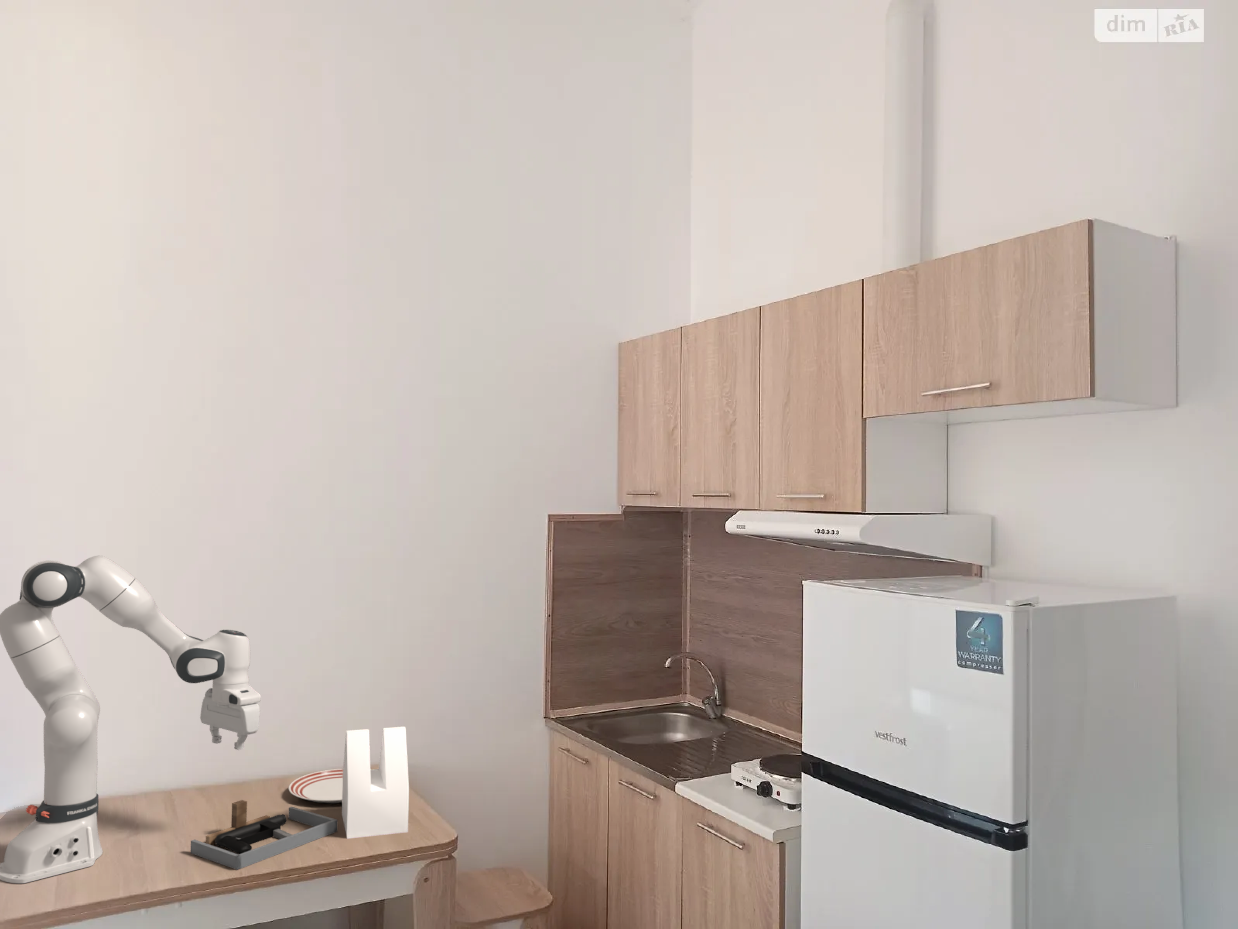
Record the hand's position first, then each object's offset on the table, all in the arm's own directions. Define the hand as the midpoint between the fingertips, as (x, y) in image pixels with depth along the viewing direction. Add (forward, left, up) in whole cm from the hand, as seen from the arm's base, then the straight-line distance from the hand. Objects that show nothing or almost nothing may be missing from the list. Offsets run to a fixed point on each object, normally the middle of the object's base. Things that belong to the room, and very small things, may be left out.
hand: (227, 746), depth 247 cm
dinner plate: (+38, 0, -22) cm, 44 cm away
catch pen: (+1, -15, -22) cm, 27 cm away
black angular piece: (+2, -13, -23) cm, 26 cm away
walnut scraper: (0, -5, -22) cm, 23 cm away
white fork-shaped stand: (+26, -27, -22) cm, 44 cm away
